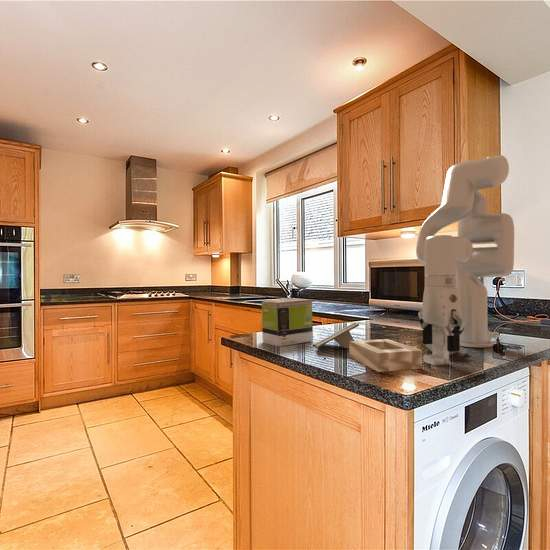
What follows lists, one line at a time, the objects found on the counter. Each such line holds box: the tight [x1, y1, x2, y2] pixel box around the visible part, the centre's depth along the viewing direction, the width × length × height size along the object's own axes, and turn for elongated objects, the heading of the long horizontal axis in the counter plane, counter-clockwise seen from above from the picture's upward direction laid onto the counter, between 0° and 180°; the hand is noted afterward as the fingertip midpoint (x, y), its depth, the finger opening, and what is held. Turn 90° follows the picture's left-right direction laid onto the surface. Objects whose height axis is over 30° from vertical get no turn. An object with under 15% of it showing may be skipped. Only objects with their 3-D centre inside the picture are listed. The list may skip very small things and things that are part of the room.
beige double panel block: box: [314, 322, 361, 349], centre depth 114 cm, size 16×9×15 cm
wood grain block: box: [422, 325, 450, 366], centre depth 95 cm, size 4×4×10 cm
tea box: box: [261, 298, 314, 347], centre depth 125 cm, size 15×10×15 cm, turn 124°
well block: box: [348, 338, 423, 373], centre depth 96 cm, size 12×16×4 cm
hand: (440, 347), depth 95 cm, fingers open, 9 cm apart
